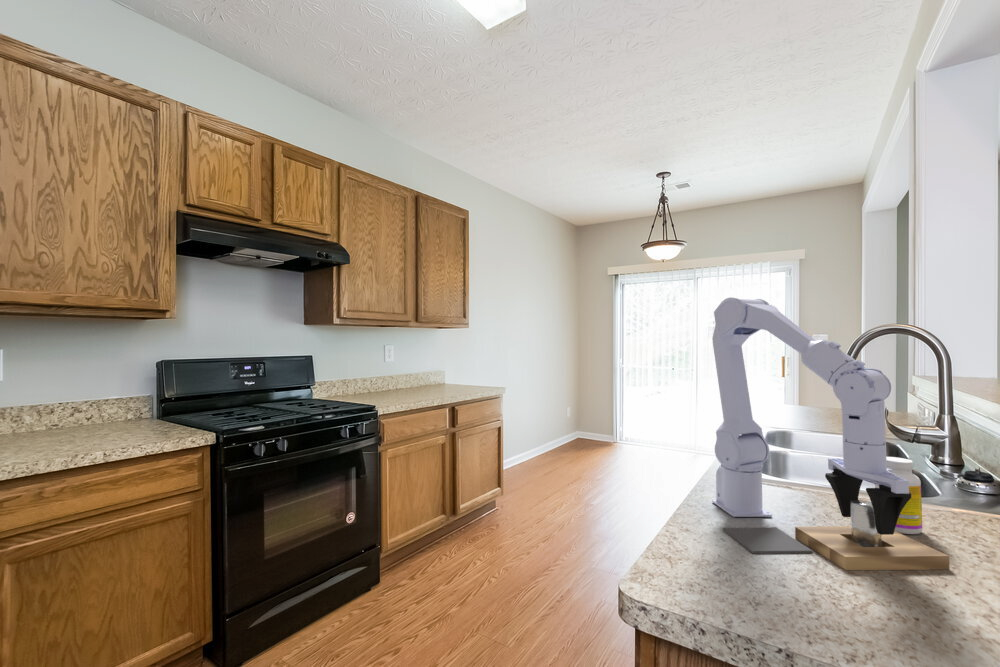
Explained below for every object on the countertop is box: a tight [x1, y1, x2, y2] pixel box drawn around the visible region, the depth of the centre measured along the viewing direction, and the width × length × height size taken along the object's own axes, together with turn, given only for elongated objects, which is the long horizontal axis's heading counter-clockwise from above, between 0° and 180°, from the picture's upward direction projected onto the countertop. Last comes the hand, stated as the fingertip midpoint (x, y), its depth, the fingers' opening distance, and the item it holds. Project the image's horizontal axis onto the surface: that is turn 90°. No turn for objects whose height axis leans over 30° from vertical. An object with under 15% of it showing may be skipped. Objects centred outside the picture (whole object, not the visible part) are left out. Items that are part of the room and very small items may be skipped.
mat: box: [722, 526, 814, 555], centre depth 83 cm, size 10×10×1 cm
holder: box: [794, 525, 950, 571], centre depth 78 cm, size 12×16×2 cm
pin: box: [850, 499, 882, 547], centre depth 78 cm, size 4×4×8 cm
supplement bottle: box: [874, 456, 923, 535], centre depth 88 cm, size 7×7×13 cm
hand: (866, 524), depth 78 cm, fingers open, 7 cm apart
